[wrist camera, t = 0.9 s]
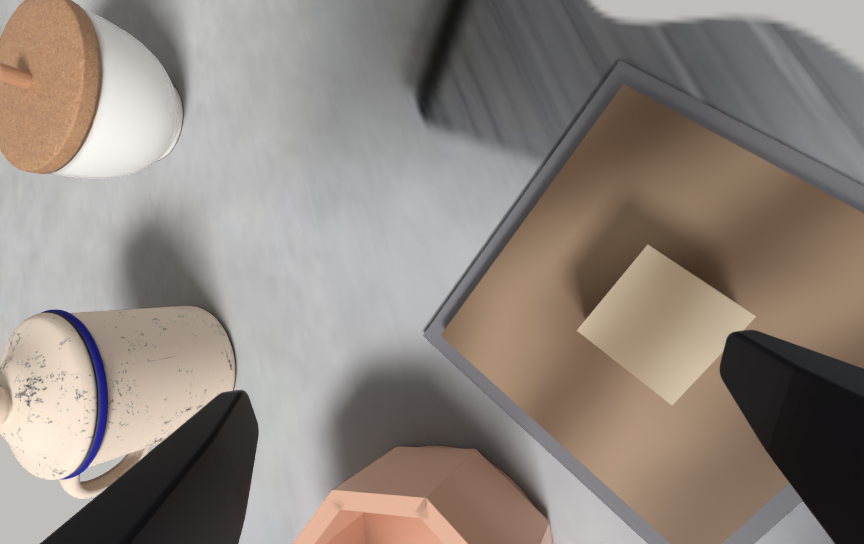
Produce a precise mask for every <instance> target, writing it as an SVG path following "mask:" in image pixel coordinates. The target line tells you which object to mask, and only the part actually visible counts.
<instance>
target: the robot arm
mask: <svg viewBox="0 0 864 544" xmlns="http://www.w3.org/2000/svg"><path fill="white" fill-rule="evenodd" d="M719 370H720V376H721V378H722V380H723V382H724V384H725V385H726V387H727V389H728V390H729V392H730V394H731V395H732V397H733V399H734V400H735V402H736V403H737V405H738V407H739V408H740V410H741V412H742V413H743V415H744V417H745V418H746V420H747V422H748V423H749V425H750V426H751V428H752V430H753V431H754V433H755V435H756V436H757V438H758V440H759V441H760V443H761V444H762V446H763V447H764V449H765V450H766V452H767V453H768V455H769V456H770V457H771V459H772V460H773V462H774V463H775V464H776V466H777V467H778V468H779V470H780V471H781V472H782V474H783V475H784V476H785V478H786V479H787V480H788V482H789V483H790V484H791V486H792V487H793V488H794V490H795V491H796V492H797V494H798V495H799V496H800V498H801V499H802V500H803V502H804V503H805V504H806V506H807V507H808V508H809V510H810V511H811V513H812V514H813V515H814V517H815V518H816V519H817V521H818V522H819V523H820V525H821V526H822V527H823V529H824V530H825V531H826V533H827V534H828V535H829V537H830V538H831V539H832V541H833V542H834V543H835V544H864V368H861V367H858V366H856V365H853V364H850V363H847V362H844V361H841V360H839V359H836V358H833V357H830V356H827V355H824V354H822V353H819V352H816V351H813V350H810V349H808V348H805V347H802V346H799V345H796V344H793V343H791V342H788V341H785V340H782V339H779V338H776V337H774V336H771V335H768V334H765V333H762V332H759V331H756V330H744V331H735V332H732V333H730V334H729V335H728V336H727V339H726V342H725V346H724V350H723V354H722V358H721V362H720V367H719ZM258 433H259V430H258V423H257V420H256V417H255V414H254V411H253V408H252V405H251V402H250V399H249V396H248V394H247V393H246V392H245V391H243V390H235V391H227V392H222V393H220V394H219V395H217V396H216V397H215V398H214V399H212V400H211V401H210V402H209V403H208V404H206V405H205V406H204V407H203V408H202V409H200V410H199V411H198V412H197V413H196V414H194V415H193V416H192V417H191V418H190V419H188V420H187V421H186V422H185V423H184V424H182V425H181V426H180V427H179V428H178V429H177V430H175V431H174V432H173V433H172V434H171V435H169V436H168V437H167V438H166V439H165V440H163V441H162V442H161V443H160V444H159V445H157V446H156V447H155V448H154V449H153V450H151V451H150V452H149V453H148V454H147V455H145V456H144V457H143V458H142V459H141V460H139V461H138V462H137V463H136V464H135V465H134V466H132V467H131V468H130V469H129V470H128V471H126V472H125V473H124V474H123V475H122V476H120V477H119V478H118V479H117V480H116V481H114V482H113V483H112V484H111V485H110V486H108V487H107V488H106V489H105V490H104V491H102V492H101V493H100V494H99V495H98V496H96V497H95V498H94V499H93V500H92V501H91V502H89V503H88V504H87V505H86V506H85V507H83V508H82V509H81V510H80V511H79V512H77V513H76V514H75V515H74V516H73V517H72V518H70V519H69V520H68V521H67V522H65V523H64V524H63V525H62V526H61V527H59V528H58V529H57V530H56V531H55V532H53V533H52V534H51V535H50V536H49V537H47V538H46V539H45V540H44V541H43V542H41V543H40V544H238V543H239V539H240V535H241V532H242V528H243V523H244V519H245V515H246V509H247V504H248V498H249V491H250V485H251V479H252V473H253V466H254V460H255V454H256V448H257V441H258Z"/></svg>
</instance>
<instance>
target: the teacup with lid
mask: <svg viewBox="0 0 864 544" xmlns="http://www.w3.org/2000/svg"><path fill="white" fill-rule="evenodd" d="M234 383H235V360H234V354H233V350H232V346H231V343H230V340H229V338H228V336H227V334H226V332H225V330H224V328H223V327H222V325H221V324H220V323H219V321H218V320H217V319H216V318H215V317H214V316H213V315H212V314H210V313H209V312H207V311H206V310H204V309H201V308H199V307H195V306H174V307H158V308H143V309H127V310H111V311H95V312H80V313H68V312H66V311H63V310H48V311H45V312H42V313H39V314H36V315H34V316H32V317H30V318H28V319H27V320H25V321H24V322H22V323H21V324H20V325H19V326H18V327H17V328H16V330H15V331H14V332H13V334H12V335H11V337H10V339H9V341H8V343H7V345H6V348H5V350H4V353H3V357H2V361H1V366H0V434H1V435H2V436H3V437H4V439H5V440H6V441H7V442H8V443H9V446H10V448H11V450H12V452H13V453H14V455H15V457H16V458H17V460H18V461H19V463H20V464H21V465H22V466H23V467H24V468H25V469H26V470H27V471H28V472H30V473H31V474H33V475H35V476H37V477H39V478H42V479H48V480H58V479H60V484H61V486H62V487H63V489H64V490H65V491H66V492H67V493H69V494H70V495H71V496H73V497H75V498H79V499H86V498H92V497H95V496H98V495H99V494H100V493H101V492H102V491H104V490H105V489H106V488H107V487H108V486H110V485H111V484H112V483H113V482H114V481H116V480H117V479H118V478H119V477H120V476H122V475H123V474H124V473H125V472H126V471H128V470H129V469H130V468H131V467H132V466H134V465H135V464H136V463H137V462H138V461H139V460H141V459H142V458H143V457H144V456H145V455H147V454H148V452H149V450H150V447H151V446H153V445H156V444H159V443H161V442H162V441H163V440H165V439H166V438H167V437H168V436H169V435H171V434H172V433H173V432H174V431H175V430H177V429H178V428H179V427H180V426H181V425H182V424H184V423H185V422H186V421H187V420H188V419H190V418H191V417H192V416H193V415H194V414H196V413H197V412H198V411H199V410H200V409H202V408H203V407H204V406H205V405H206V404H208V403H209V402H210V401H211V400H212V399H214V398H215V397H216V396H217V395H219V394H220V393H222V392H227V391H233V388H234ZM126 454H127V455H126ZM123 455H126V456H125V457H124V458H123V459H122V461H120V462H119V463H118V464H117V465H116V466H115V467H113V468H112V469H111V470H109V471H108V472H106V473H104V474H103V475H101V476H99V477H96V478H94V479H92V480H88V481H85V482H84V481H83V482H80V473H82V472H83V471H84V470H85V469H86V468H88V467H91V466H94V465H97V464H100V463H102V462H105V461H108V460H111V459H114V458H117V457H120V456H123Z"/></svg>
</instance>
